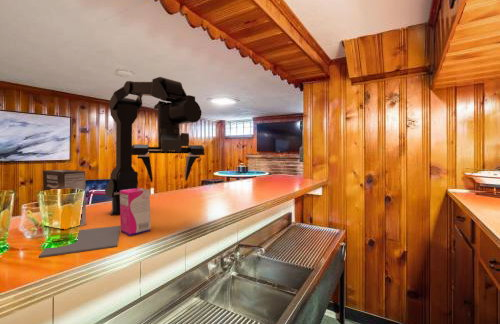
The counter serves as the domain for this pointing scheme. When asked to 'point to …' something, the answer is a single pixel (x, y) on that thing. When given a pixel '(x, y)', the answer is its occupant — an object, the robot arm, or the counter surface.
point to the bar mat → (88, 241)
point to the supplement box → (135, 211)
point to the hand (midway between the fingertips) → (169, 181)
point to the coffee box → (66, 183)
